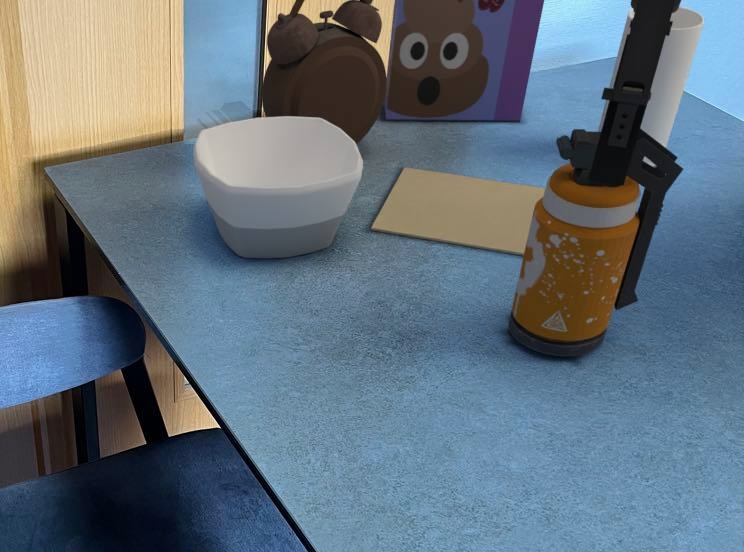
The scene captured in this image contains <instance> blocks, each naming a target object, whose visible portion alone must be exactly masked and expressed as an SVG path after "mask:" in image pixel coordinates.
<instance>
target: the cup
mask: <svg viewBox="0 0 744 552" xmlns="http://www.w3.org/2000/svg"><path fill="white" fill-rule="evenodd" d="M633 10H634V9H633V8H631V9H630V10H629V11H628V14H627V16H626V19H625V24H624V28H623V32H622V36H621V40H620V43H619V47H618V51H617V54H616V55H617V56H616V60H615V63H614V67H613V71H612V75H611V78H610V83H609V87H608V88H612V89H613V86H614V82H615V79H616V75H617V71H618V67H619V64H620V60H621V56H622V52H623V49H624V45H625V41H626V37H627V34H630V29H631V28H630V27H629V26H630V22H631V20H632V19H633V18H634V14H635V13H634V12H633ZM670 21H673V23H672V27H671V31H670V35H669V36H666V37H665V40H664V44H663V48H662V51H661V55H660V58H659V62H658V65H657V69H656V73H655V76H654V80H653V83H652V87H651V93H652V95H651V98H650V100H649V101H648V103H647V107H646V110H645V114H644V117H643V120H642V124H641V127H640V128H641V129H642V130H643V131H645V132H646V133H647V134H648V135H650V136H651V137H652V138H654V139H655V140H656V141H657V142H659V143H660V144H661V145H663V146H664V147H665V148H667V146H668V143H669V139H670V136H671V133H672V130H673V126H674V123H675V120H676V116H677V114H678V111H679V106H680V103H681V100H682V97H683V95H684V90H685V87H686V83H687V80H688V77H689V74H690V71H691V68H692V63H693V61H694V58H695V55H696V51H697V47H698V44H699V42H700V38H701V34H702V31H703V28H704V26H705V17H704V16H703V15H702V14H701V13H699V12H697V11H696V10H693V9H690V8H688V7H684V6H679V8H678V10H677V11H676V12H674V13H672V15H671V19H670ZM608 104H609V100H605V102H604V106H603V110H602V113H601V117H600V122H599V126H598V130H597V132H601V130H602V127H603V123H604V119H605V115H606V112H607V108H608ZM643 161H644V162H646V163H648V164H649V165H651V166H653V167H657V166H656V165H655V164H654V163H653V162H651V161H650V160H649V159H648V158H646V157H645V156H644V159H643Z"/></svg>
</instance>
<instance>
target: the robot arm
mask: <svg viewBox="0 0 744 552" xmlns="http://www.w3.org/2000/svg"><path fill="white" fill-rule="evenodd" d="M681 3H682V0H630V7H631V9H634V10H633V12H634V13H635V14H634V18H633V19H632V20H631V22H630V26H629V27H630V28H631V29H630V34H627V37H626V41H625V45H624V49H623V52H622V56H621V60H620V64H619V67H618V71H617V75H616V79H615V82H614V86H613V89H612V88H609V87H603V90H602V94H601V100H605V101H606V100H609V104H608V108H607V112H606V115H605V119H604V123H603V127H602V130H601V134H600V138H599V142H598V145H597V149H596V153H595V157H594V160H593V164H592V168H591V172H590V175H589V179H588V181H595V182H601V183H608V184H614V185H621V186H623V185H624V182H625V178H626V175H627V172H628V168H629V165H630V161H631V158H632V155H633V151H634V148H635V144H636V141H637V137H638V134H639V131H640V127H641V124H642V120H643V117H644V114H645V110H646V107H647V103H648V101H649V100H650V98H651V95H652V93H651V87H652V83H653V80H654V76H655V73H656V69H657V65H658V62H659V58H660V55H661V51H662V48H663V44H664V40H665V37H666V36H669V35H670V31H671V27H672V23H673V21H670V19H671V15H672V13H674V12H676V11H677V10H678V8H679V7H681V6H680V5H681Z"/></svg>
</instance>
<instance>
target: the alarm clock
mask: <svg viewBox="0 0 744 552" xmlns="http://www.w3.org/2000/svg"><path fill="white" fill-rule="evenodd" d="M305 1H306V0H295V1H294V3H293V5H292V7H291V9H290V12H289V13H288V14H284V13H282V12H280V13H278V14H277V20H276V21H275V22H274V23H273V24H272V25H271V27H270V29H269V31H268V33H267V36H266V47H267V51H268V54H269V57H270V61H269V62H268V64H267V67H266V69H265V73H264V76H263V79H262V80H263V82H262V87H261V105H262V109H263V113H264V117H284V116H293V117H315V118H322V119H324V120H326V121H328V122H329V123H331V124H333V125H335V126H337V127H339V128H340V129H341V130H343V131H344V132H345V133H346V134H347V135H348V136H349V137H350V138H351V139H352V140H354V141H355V143H356V145H357V144H359V143H360V142H361V141H362V140H363V139H364V138H365V137H366V136H367V135H368V133H369V132H370V131H371V130H372V128H373V126H374V125H375V123H376V122H377V120H378V118H379V116H380V113H381V111H382V109H383V107H384V99H385V94H386V84H387V81H386V78H387V70H386V66H385V63H384V61H383V58H382V56H381V55H380V53H379V51H378V50H377V48H376V47H374V45H372V44H371V43H374V44H377V43H378V41H379V39H380V35H381V32H382V28H383V22H382V21H383V20H382V17H381V15H380V13H379V11H380V9H379V8H377V7H376V6H374V5H372V3H373V2H374V0H346V1H344V2H342V3H341V5H339V7H338V8H337V9H336V11H335V12H334V11H333V10H331V9H330V10H324V11H321V12H320V13H319V18H320V19H322V20H324V21H321V22H314V23H313V21H312V20H311V19H310V18H309V17H308V16H306V14H303V13H299V12H300V10H301V8H302V7H303V4H304V3H305ZM330 18H331V20H332V21H334V22H335V23H334V22H328V19H330ZM337 23H338V24H337ZM369 41H370V42H371V43H370V42H369Z"/></svg>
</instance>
